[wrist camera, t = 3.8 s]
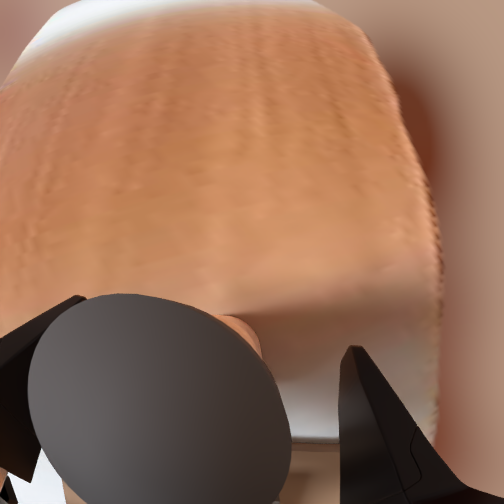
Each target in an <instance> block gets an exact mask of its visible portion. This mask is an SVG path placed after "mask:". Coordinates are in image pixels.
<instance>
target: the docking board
mask: <svg viewBox="0 0 504 504" xmlns="http://www.w3.org/2000/svg"><path fill="white" fill-rule="evenodd" d="M62 483H63V489H64V494H65V499H66V504H87V503H86V502H84V501H83V500H82V499H81V498H80V497H79V496H78V495H77V494H76V493H75V492H74V491H73V490H72V489H71V488H70V487H69V486H68V485H67V484H66V483H65V482H64V481H63V479H62ZM272 504H340V444H311V443H292V452H291V463H290V468H289V473H288V476H287V478H286V481H285V483H284V486H283V488H282V490H281V492H280V493H279V495H278V496H277V498H276V500H275V501H274V502H273V503H272Z"/></svg>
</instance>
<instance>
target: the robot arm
mask: <svg viewBox="0 0 504 504" xmlns="http://www.w3.org/2000/svg"><path fill="white" fill-rule="evenodd" d="M85 300H87V299H86V297H84V296H80V295H75V296H73V297H71V298H69V299H67V300H65V301H64V302H62V303H60V304H58V305H56V306H55V307H53V308H51V309H49V310H48V311H46V312H44V313H42V314H41V315H39V316H37V317H35V318H34V319H32V320H30V321H29V322H27V323H25V324H23V325H22V326H20V327H18V328H17V329H15V330H13V331H12V332H10V333H8V334H7V335H5V336H3V338H0V504H18V501H17V498H16V495H15V493H14V490H13V487H12V484H11V481H10V478H9V476H7V474H8V472H10V473H12V474H13V475H15V476H17V477H19V478H21V479H23V480H25V481H27V482H29V483H31V481H32V478H33V474H34V470H35V467H36V464H37V460H38V457H39V454H40V451H41V448H42V447H41V445H40V442H39V440H38V437H37V435H36V432H35V429H34V426H33V423H32V419H31V414H30V409H29V402H28V376H29V370H30V365H31V360H32V357H33V354H34V351H35V349H36V347H37V345H38V343H39V341H40V339H41V337H42V335H43V334H44V332H45V331H46V330H47V328H48V327H49V326H50V324H51V323H52V322H53V321H54V320H55V319H56V318H57V317H58V316H59V315H61V314H62V313H63V312H65V311H66V310H68V309H69V308H71V307H72V306H74V305H76V304H78V303H80V302H83V301H85ZM338 416H339V442H340V504H504V498H501V497H497V496H495V495H491V494H488V493H485V492H482V491H479V490H476V489H473V488H471V487H468V486H467V485H465V484H464V483H462V482H461V481H460V480H459V479H458V478H457V477H456V475H455V474H454V473H453V472H452V471H451V469H450V468H449V467H448V466H447V464H446V463H445V462H444V461H443V460H442V458H441V457H440V456H439V455H438V454H437V452H436V451H435V450H434V448H433V447H432V446H431V444H430V443H429V441H428V440H427V439H426V437H425V436H424V434H423V433H422V431H421V430H420V428H419V427H418V426H417V424H416V422H415V421H414V420H413V418H412V417H411V415H410V414H409V412H408V411H407V409H406V408H405V406H404V405H403V403H402V402H401V400H400V399H399V397H398V396H397V395H396V393H395V392H394V390H393V389H392V387H391V386H390V384H389V383H388V382H387V380H386V379H385V377H384V376H383V374H382V373H381V372H380V370H379V369H378V367H377V366H376V365H375V363H374V362H373V360H372V359H371V358H370V356H369V355H368V353H367V352H366V351H365V349H364V348H363V347H362V346H357V345H350V346H349V347H348V349H347V351H346V353H345V355H344V357H343V358H342V361H341V364H340V383H339V400H338Z"/></svg>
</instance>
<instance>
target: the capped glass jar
mask: <svg viewBox="0 0 504 504" xmlns="http://www.w3.org/2000/svg"><path fill="white" fill-rule="evenodd" d="M28 402H29V409H30V414H31V419H32V423H33V426H34V429H35V432H36V435H37V437H38V440H39V442H40V445H41V447H42V449H43V451H44V453H45V454H46V456H47V458H48V460H49V461H50V463H51V464H52V466H53V467H54V469H55V470H56V472H57V473H58V475H59V476H60V477H61V478H62V479H63V481H64V482H65V483H66V484H67V485H68V486H69V487H70V488H71V489H72V490H73V491H74V492H75V493H76V494H77V495H78V496H79V497H80V498H81V499H82V500H83V501H84V502H86V503H87V504H272V503H273V502H274V501H275V500H276V498H277V496H278V495H279V493H280V492H281V490H282V488H283V486H284V483H285V481H286V478H287V476H288V473H289V468H290V463H291V452H292V440H291V433H290V427H289V422H288V419H287V415H286V412H285V409H284V406H283V403H282V400H281V397H280V393H279V390H278V387H277V385H276V383H275V381H274V379H273V377H272V375H271V372H270V371H269V369H268V368H267V366H266V365H265V363H264V362H263V359H262V353H261V347H260V343H259V339H258V337H257V335H256V333H255V332H254V330H253V329H252V328H251V327H250V326H249V325H248V324H247V323H245V322H244V321H242V320H240V319H238V318H236V317H232V316H226V315H210V314H208V313H206V312H204V311H201V310H199V309H197V308H194V307H192V306H189V305H185V304H182V303H178V302H175V301H170V300H166V299H161V298H157V297H151V296H145V295H139V294H110V295H102V296H98V297H94V298H91V299H88V300H85V301H83V302H80V303H78V304H76V305H74V306H72V307H71V308H69V309H68V310H66V311H65V312H63V313H62V314H61V315H59V316H58V317H57V318H56V319H55V320H54V321H53V322H52V323H51V324H50V326H49V327H48V328H47V330H46V331H45V332H44V334H43V335H42V337H41V339H40V341H39V343H38V345H37V347H36V349H35V351H34V354H33V357H32V360H31V365H30V370H29V376H28Z"/></svg>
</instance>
